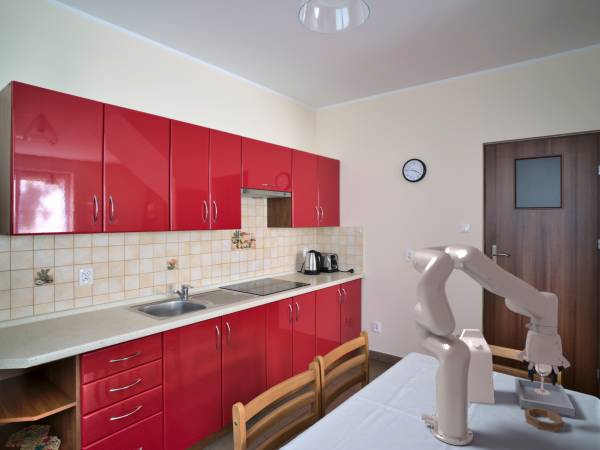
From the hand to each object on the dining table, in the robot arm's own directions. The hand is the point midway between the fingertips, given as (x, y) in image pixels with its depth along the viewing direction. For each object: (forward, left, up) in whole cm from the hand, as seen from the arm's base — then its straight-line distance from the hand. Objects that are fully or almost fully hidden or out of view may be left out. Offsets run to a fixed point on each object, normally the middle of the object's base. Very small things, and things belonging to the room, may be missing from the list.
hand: (542, 381), depth 124 cm
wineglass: (0, 0, -4) cm, 4 cm away
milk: (-22, +11, -14) cm, 28 cm away
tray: (+2, +17, -14) cm, 22 cm away
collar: (0, 0, -14) cm, 14 cm away
